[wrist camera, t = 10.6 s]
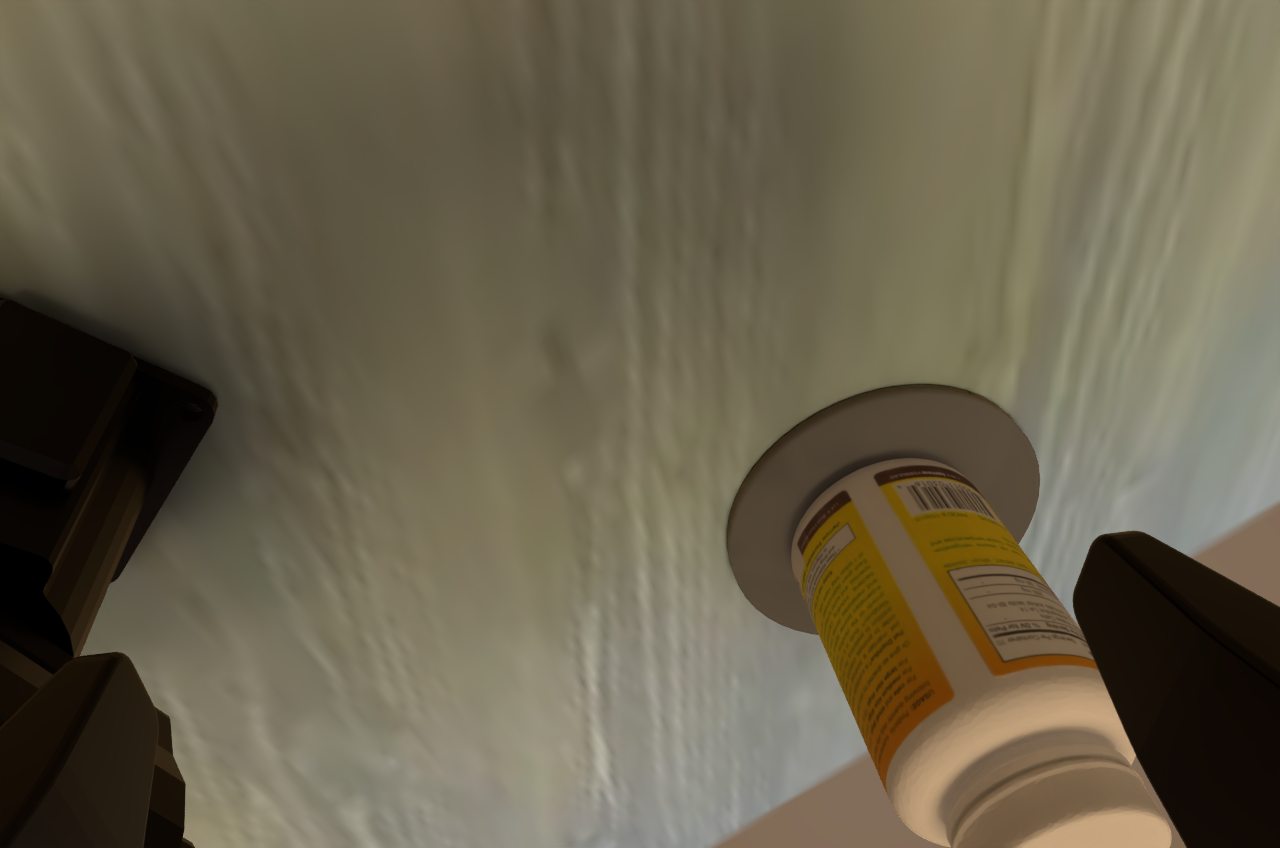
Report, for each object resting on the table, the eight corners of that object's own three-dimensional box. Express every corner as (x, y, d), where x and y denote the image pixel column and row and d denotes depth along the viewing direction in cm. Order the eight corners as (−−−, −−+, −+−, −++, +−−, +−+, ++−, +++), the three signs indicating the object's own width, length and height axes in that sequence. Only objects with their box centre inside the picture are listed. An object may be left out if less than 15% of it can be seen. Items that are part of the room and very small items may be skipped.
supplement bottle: (813, 621, 28) (962, 976, 20) (760, 497, 25) (911, 859, 17) (989, 552, 28) (1216, 886, 20) (957, 415, 24) (1214, 748, 16)
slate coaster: (875, 657, 31) (880, 669, 30) (663, 560, 27) (666, 572, 26) (1091, 471, 27) (1101, 482, 27) (886, 326, 23) (893, 336, 23)
